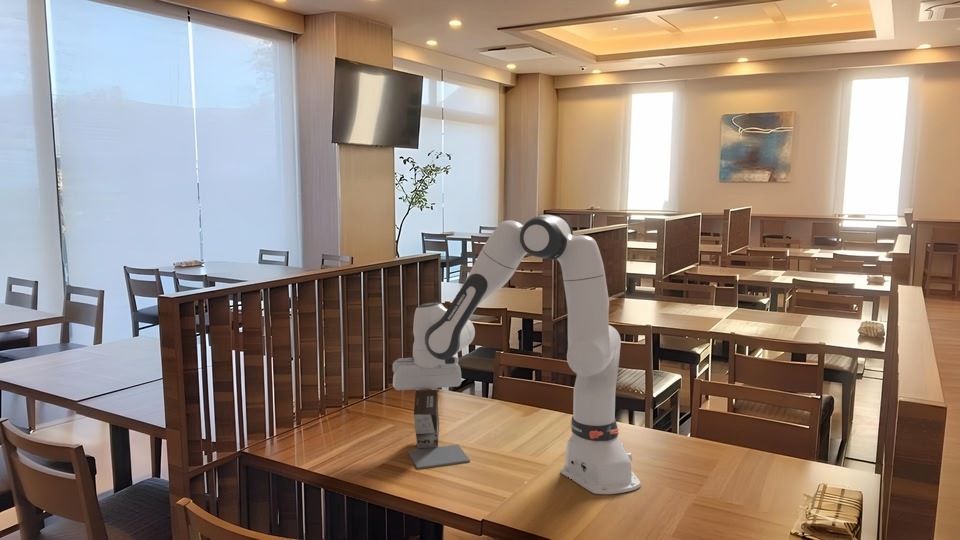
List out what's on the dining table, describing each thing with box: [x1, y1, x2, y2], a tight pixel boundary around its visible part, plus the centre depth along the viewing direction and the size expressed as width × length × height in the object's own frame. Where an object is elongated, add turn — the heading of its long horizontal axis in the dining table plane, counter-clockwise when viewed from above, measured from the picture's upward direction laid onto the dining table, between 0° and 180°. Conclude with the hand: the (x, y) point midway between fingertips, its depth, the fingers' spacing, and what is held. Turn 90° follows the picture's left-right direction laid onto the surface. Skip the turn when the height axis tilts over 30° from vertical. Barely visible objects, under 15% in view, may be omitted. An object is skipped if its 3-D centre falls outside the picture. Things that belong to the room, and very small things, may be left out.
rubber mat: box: [408, 443, 471, 470], centre depth 192 cm, size 12×15×1 cm
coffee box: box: [413, 389, 440, 449], centre depth 196 cm, size 9×6×16 cm
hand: (426, 402), depth 200 cm, fingers closed
